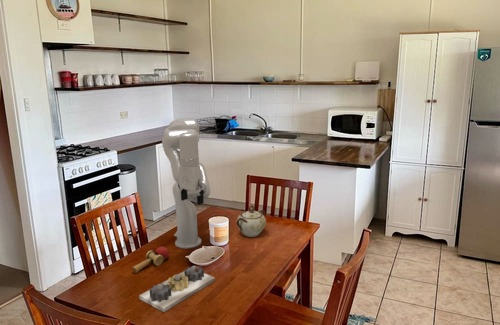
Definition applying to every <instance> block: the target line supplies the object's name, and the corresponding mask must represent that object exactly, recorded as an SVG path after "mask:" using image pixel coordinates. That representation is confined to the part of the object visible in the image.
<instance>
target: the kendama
mask: <svg viewBox="0 0 500 325" xmlns="http://www.w3.org/2000/svg"><path fill="white" fill-rule="evenodd" d="M169 254H170V253H169V250H168V248H167V247H165V246H159V247H157V248H156V249H155V251H154V250H148V251H147V253H146V254H145V260H144V261H141V262H140V263H138V264H136V265H134V266H132V268H131V270H132V272H133V273H134V274H137V273H138V272H139V271H141V270H143V268H145V267H146V266H148V265H149V264H150V263H151V262H152V263H153V265H155V266H156V267H158V266H160V265H162V264H163V262H164V261H165V260H167V258H168V257H169Z"/></svg>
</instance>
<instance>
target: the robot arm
mask: <svg viewBox="0 0 500 325" xmlns="http://www.w3.org/2000/svg"><path fill="white" fill-rule="evenodd" d="M199 142H200V125H199V122H198V121H197V119H194V118H184V119H183V118H182V119H174V120H172V121H171V122H170V123H169V125H168V127H166V128H165V129H164V131H163V136H162V139H161V144H162V149H163V151H164V154H165V156H166V158H167V159H168V161H169V163H170V169H171V174H172V179H173V180H174V182H175V183H174V184H173V186H172V194H173V198H174V199H173V200H174V203H175V204H174V205H175V214H176V216H175V217H176V226H177V230H176V232H175V233H174V234H173V236H174V237H176V240H175V241H174V242H175V243H174V244H175V246H176V247H177V248H178V249H186V250H187V249H193V248H196V247H198V246H200V245H201V244H202V239H201V238H200V236H199V235H198V217H197V216H198V215H197V208H196V206H195V204H194V203H193V202H192V201H195V200H196V204H197V206H200V205H202V204H204V203H205V202H204V199H207V198H209V197H210V194H211V186H210V183H209V182H210V181H209V178H208V175H207V171H206V168H205V165H204V164H203V163H201V162H200V155H199Z"/></svg>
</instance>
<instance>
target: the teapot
mask: <svg viewBox="0 0 500 325" xmlns="http://www.w3.org/2000/svg"><path fill="white" fill-rule="evenodd" d="M251 208H252V209H251ZM265 215H266V211H265V210H264V209H261V210H259V211H256V210H255V207H254V205H250V206H249V207H248V210H247V211H243V212H241V213H240V214H239V215H238V217H236V225H237V228H238V229H239V231H240V232H241V233H242V235H244V237H249V238H254V237H258V236H259V235H260V234H261V232H263V230H264V229H265V228H266V224H267V220H266V218H265Z"/></svg>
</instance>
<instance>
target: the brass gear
mask: <svg viewBox="0 0 500 325" xmlns="http://www.w3.org/2000/svg"><path fill="white" fill-rule="evenodd" d="M175 275H176V274H173V276H172V277H170V276H169V277H168V279H167V280H169V281H168V284H169V287H171V289H172V290H173V291H176V290H180V291H183V289H184V288H187V287H188V277H187V276H183V274H181V275H180V281H176V280H175Z"/></svg>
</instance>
